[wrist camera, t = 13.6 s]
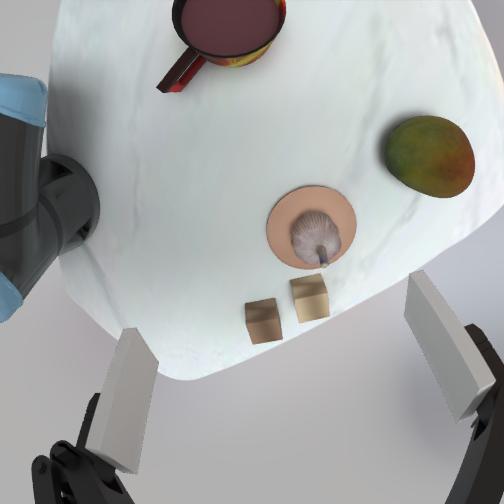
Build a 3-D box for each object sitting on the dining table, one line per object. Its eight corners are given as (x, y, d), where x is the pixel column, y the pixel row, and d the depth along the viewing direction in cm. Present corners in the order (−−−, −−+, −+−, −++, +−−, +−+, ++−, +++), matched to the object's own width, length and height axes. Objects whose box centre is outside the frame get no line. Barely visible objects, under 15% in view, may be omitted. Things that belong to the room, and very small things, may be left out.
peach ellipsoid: (275, 272, 47) (276, 277, 46) (257, 195, 40) (257, 198, 39) (355, 255, 46) (358, 259, 45) (350, 176, 39) (352, 179, 38)
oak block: (294, 302, 51) (298, 323, 46) (289, 279, 48) (294, 299, 44) (323, 296, 50) (329, 316, 46) (320, 272, 48) (327, 292, 43)
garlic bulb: (321, 261, 45) (334, 294, 38) (277, 246, 43) (284, 279, 36) (346, 218, 41) (365, 247, 34) (300, 199, 40) (312, 226, 33)
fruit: (450, 174, 39) (489, 199, 30) (385, 198, 41) (417, 229, 32) (438, 103, 33) (482, 114, 25) (366, 123, 35) (401, 136, 27)
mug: (176, 90, 33) (147, 93, 22) (204, -7, 26) (189, -42, 16) (251, 106, 34) (255, 114, 24) (281, 9, 28) (298, -21, 17)
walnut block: (251, 323, 53) (252, 344, 49) (245, 303, 50) (245, 324, 46) (279, 318, 52) (282, 339, 48) (274, 297, 50) (277, 318, 46)
